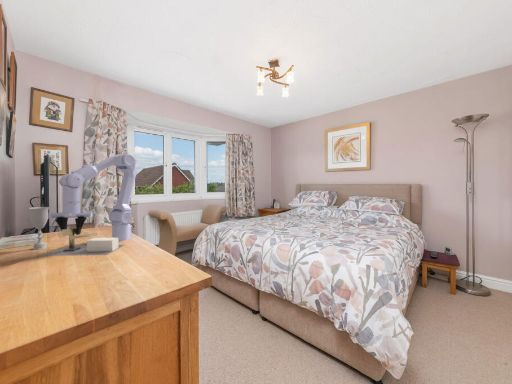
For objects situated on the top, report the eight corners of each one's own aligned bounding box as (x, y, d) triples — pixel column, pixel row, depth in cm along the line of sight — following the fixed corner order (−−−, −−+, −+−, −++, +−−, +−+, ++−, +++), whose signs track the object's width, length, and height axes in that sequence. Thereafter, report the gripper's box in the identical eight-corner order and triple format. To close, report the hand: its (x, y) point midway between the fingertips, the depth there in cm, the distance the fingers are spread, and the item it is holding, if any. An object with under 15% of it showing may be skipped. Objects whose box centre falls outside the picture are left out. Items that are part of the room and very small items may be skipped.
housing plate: (69, 247, 103) (69, 244, 103) (125, 246, 106) (125, 243, 106) (41, 258, 89) (41, 254, 88) (106, 257, 91) (106, 253, 91)
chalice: (33, 246, 104) (32, 207, 103) (52, 245, 107) (52, 206, 106) (25, 251, 97) (24, 208, 97) (46, 249, 100) (45, 208, 99)
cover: (94, 248, 100) (94, 237, 100) (118, 247, 101) (118, 237, 100) (86, 251, 95) (86, 240, 95) (112, 251, 96) (112, 240, 95)
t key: (61, 249, 94) (61, 229, 94) (95, 243, 104) (95, 225, 104) (62, 250, 93) (62, 229, 93) (97, 244, 103) (97, 225, 103)
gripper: (44, 203, 90) (44, 237, 90) (88, 203, 94) (88, 235, 95) (53, 202, 97) (54, 234, 97) (94, 201, 101) (94, 232, 101)
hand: (71, 234), depth 96 cm, fingers closed on t key, 4 cm apart
